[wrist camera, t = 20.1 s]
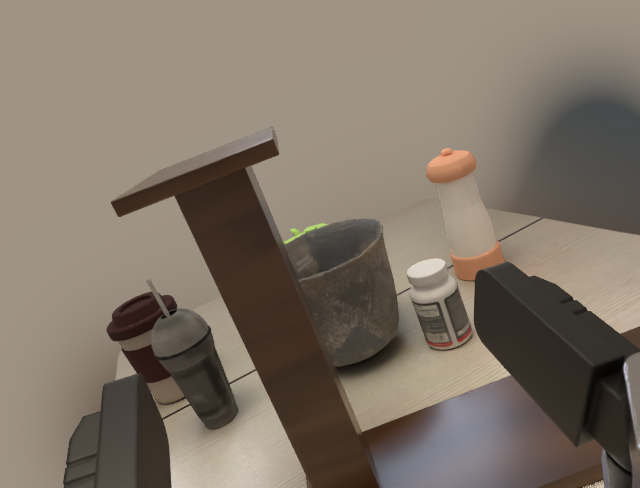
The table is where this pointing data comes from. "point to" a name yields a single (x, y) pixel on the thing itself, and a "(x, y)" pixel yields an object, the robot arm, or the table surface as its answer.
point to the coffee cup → (144, 342)
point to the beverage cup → (193, 363)
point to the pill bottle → (438, 304)
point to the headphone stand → (317, 366)
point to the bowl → (348, 287)
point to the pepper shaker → (464, 214)
